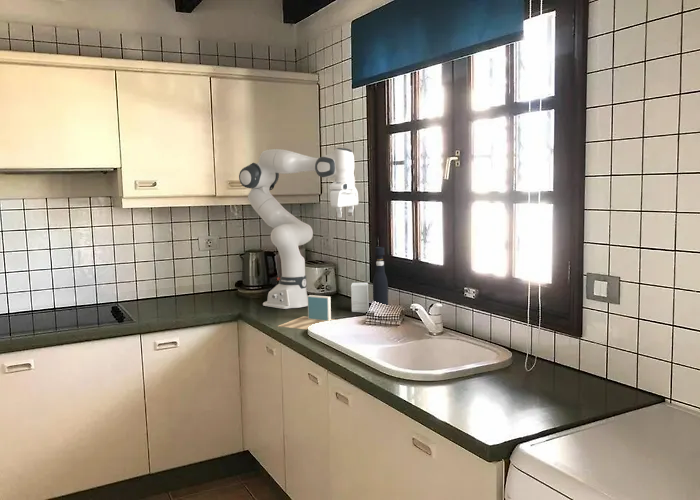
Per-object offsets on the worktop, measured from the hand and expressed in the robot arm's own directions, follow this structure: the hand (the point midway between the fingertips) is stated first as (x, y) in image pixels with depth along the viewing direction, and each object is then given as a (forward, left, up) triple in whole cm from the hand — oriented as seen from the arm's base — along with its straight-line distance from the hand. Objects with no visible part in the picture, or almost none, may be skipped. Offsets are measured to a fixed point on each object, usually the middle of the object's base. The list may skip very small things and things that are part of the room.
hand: (345, 216), depth 285 cm
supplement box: (+5, +3, -43) cm, 43 cm away
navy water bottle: (+18, -3, -43) cm, 46 cm away
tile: (-2, -21, -42) cm, 47 cm away
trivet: (-2, -28, -43) cm, 51 cm away
